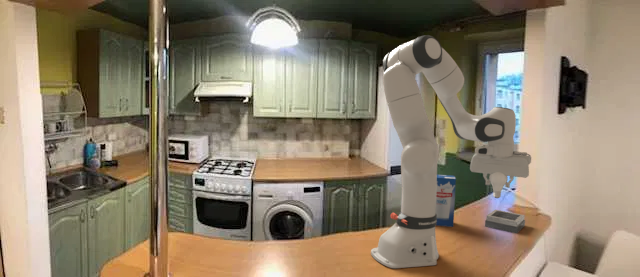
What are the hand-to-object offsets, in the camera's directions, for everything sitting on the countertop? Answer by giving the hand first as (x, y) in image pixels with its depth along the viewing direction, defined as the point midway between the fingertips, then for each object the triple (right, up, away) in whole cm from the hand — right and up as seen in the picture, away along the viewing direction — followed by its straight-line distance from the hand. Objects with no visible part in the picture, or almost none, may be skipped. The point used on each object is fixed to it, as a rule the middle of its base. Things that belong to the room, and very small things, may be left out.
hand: (497, 186), depth 143 cm
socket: (+8, -18, +11) cm, 23 cm away
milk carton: (-17, -18, +14) cm, 28 cm away
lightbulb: (0, -5, 0) cm, 5 cm away
